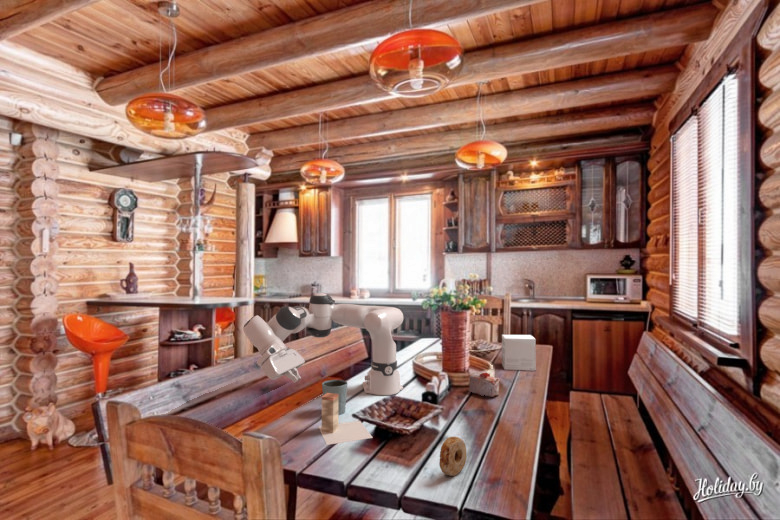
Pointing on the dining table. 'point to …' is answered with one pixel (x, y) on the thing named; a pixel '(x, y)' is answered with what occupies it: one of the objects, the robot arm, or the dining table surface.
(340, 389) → the grey green cup
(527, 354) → the supplement box
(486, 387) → the food item
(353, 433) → the felt mat
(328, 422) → the birch block
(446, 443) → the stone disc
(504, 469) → the dining table surface
